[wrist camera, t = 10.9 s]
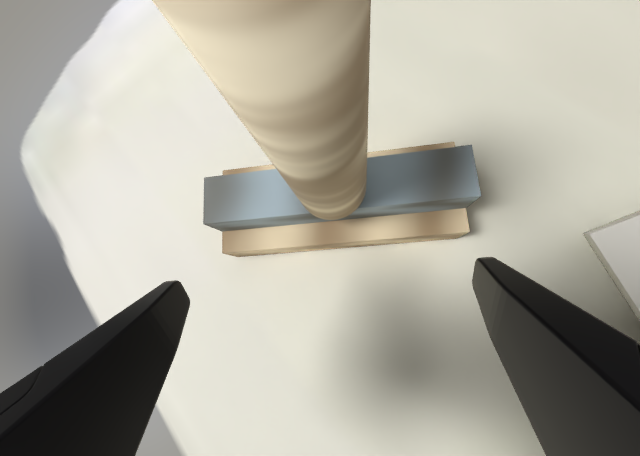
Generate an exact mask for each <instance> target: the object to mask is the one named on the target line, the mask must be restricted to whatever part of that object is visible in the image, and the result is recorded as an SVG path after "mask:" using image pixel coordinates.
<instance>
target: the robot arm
mask: <svg viewBox="0 0 640 456" xmlns="http://www.w3.org/2000/svg"><path fill="white" fill-rule="evenodd" d="M472 284H473V289H474V292H475V295H476V298H477V300H478V303H479V306H480V309H481V312H482V315H483V318H484V321H485V324H486V327H487V330H488V333H489V335H490V338H491V340H492V342H493V345H494V347H495V349H496V351H497V353H498V355H499V357H500V360H501V362H502V364H503V366H504V368H505V370H506V372H507V374H508V376H509V379H510V381H511V383H512V385H513V387H514V389H515V391H516V393H517V395H518V398H519V400H520V402H521V404H522V406H523V408H524V410H525V412H526V414H527V417H528V419H529V421H530V423H531V425H532V427H533V429H534V431H535V433H536V435H537V438H538V440H539V442H540V444H541V446H542V448H543V450H544V452H545V454H546V456H640V344H638V343H637V342H636V341H635V340H633V339H632V338H630V337H628V336H627V335H625V334H623V333H621V332H620V331H618V330H616V329H615V328H613V327H611V326H610V325H608V324H606V323H604V322H603V321H601V320H599V319H598V318H596V317H594V316H593V315H591V314H589V313H587V312H586V311H584V310H582V309H581V308H579V307H577V306H576V305H574V304H572V303H570V302H569V301H567V300H565V299H564V298H562V297H560V296H559V295H557V294H555V293H553V292H552V291H550V290H548V289H547V288H545V287H543V286H542V285H540V284H538V283H536V282H535V281H533V280H531V279H530V278H528V277H526V276H525V275H523V274H521V273H519V272H518V271H516V270H514V269H513V268H511V267H509V266H507V265H506V264H504V263H502V262H501V261H499V260H497V259H496V258H493V257H485V258H478V259H477V260H476V262H475V267H474V273H473V279H472ZM189 306H190V299H189V297H188V295H187V293H186V291H185V289H184V288H183V286H182V284H181V282H179V281H166V282H164V283H162V284H161V285H159V286H158V287H156V288H155V289H154V290H152V291H151V292H149V293H148V294H146V295H145V296H143V297H142V298H140V299H139V300H137V301H136V302H134V303H133V304H132V305H130V306H129V307H127V308H126V309H124V310H123V311H121V312H120V313H118V314H117V315H115V316H114V317H112V318H111V319H110V320H108V321H107V322H105V323H104V324H102V325H101V326H99V327H98V328H96V329H95V330H93V331H92V332H90V333H89V334H88V335H86V336H85V337H83V338H82V339H81V340H79V341H77V342H76V343H74V344H73V345H71V346H70V347H68V348H67V349H66V350H64V351H63V352H61V353H60V354H58V355H57V356H55V357H54V358H52V359H51V360H49V361H48V362H46V363H45V364H44V366H40V367H39V368H37V369H36V370H34V371H33V372H32V373H30V374H29V375H27V376H26V377H24V378H23V379H21V380H20V381H18V382H17V383H16V384H14V385H12V386H11V387H9V388H8V389H6V390H5V391H3V392H2V393H0V456H135V455H136V452H137V450H138V447H139V445H140V442H141V439H142V437H143V434H144V432H145V429H146V427H147V424H148V422H149V419H150V416H151V414H152V412H153V409H154V407H155V404H156V402H157V399H158V397H159V394H160V392H161V389H162V387H163V384H164V382H165V379H166V377H167V374H168V372H169V369H170V367H171V364H172V361H173V359H174V356H175V354H176V351H177V348H178V345H179V342H180V338H181V335H182V331H183V328H184V324H185V320H186V317H187V313H188V310H189Z"/></svg>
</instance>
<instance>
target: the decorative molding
mask: <svg viewBox="0 0 640 456" xmlns="http://www.w3.org/2000/svg"><path fill="white" fill-rule="evenodd" d="M583 234H584V236H585V237H586V239H587V241H588V242H589V244H590V245H591V247H592V248H593V250H594V251H595V253H596V255H597V256H598V258H599V259H600V261H601V262H602V264H603V265H604V267H605V269H606V270H607V272H608V273H609V275H610V276H611V278H612V279H613V281H614V283H615V284H616V286H617V287H618V289H619V290H620V292H621V293H622V295H623V297H624V298H625V300H626V301H627V303H628V304H629V306H630V307H631V309H632V311H633V312H634V314H635V315H636V317H637V318H638V320H639V321H640V211H637V212H635V213H632V214H630V215H627V216H625V217H622V218H620V219H617V220H615V221H612V222H610V223H608V224H606V225H604V226H601V227H598V228H596V229H593V230H590V231H588V232H585V233H583Z"/></svg>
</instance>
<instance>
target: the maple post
mask: <svg viewBox="0 0 640 456" xmlns="http://www.w3.org/2000/svg"><path fill="white" fill-rule="evenodd" d="M152 1H153V2H154V4H155V5H156V6H157V8H158V9H159V10H160V12H161V13H162V14H163V16H164V17H165V19H166V20H167V21H168V23H169V24H170V25H171V27H172V28H173V29H174V31H175V32H176V33H177V35H178V36H179V38H180V39H181V40H182V42H183V43H184V44H185V46H186V47H187V48H188V50H189V51H190V52H191V54H192V55H193V57H194V58H195V59H196V61H197V62H198V63H199V65H200V66H201V67H202V69H203V70H204V71H205V73H206V74H207V76H208V77H209V78H210V80H211V81H212V82H213V84H214V85H215V86H216V88H217V89H218V90H219V92H220V93H221V95H222V96H223V97H224V99H225V100H226V101H227V103H228V104H229V105H230V107H231V108H232V109H233V111H234V112H235V114H236V115H237V116H238V118H239V119H240V120H241V122H242V123H243V124H244V126H245V127H246V128H247V130H248V131H249V133H250V134H251V135H252V137H253V138H254V139H255V141H256V142H257V143H258V145H259V146H260V147H261V149H262V150H263V152H264V153H265V154H266V156H267V157H268V158H269V160H270V161H271V162H272V164H273V165H274V166H275V168H276V169H277V171H278V172H279V173H280V175H281V176H282V177H283V179H284V180H285V181H286V183H287V184H288V185H289V187H290V188H291V190H292V191H293V192H294V194H295V195H296V196H297V198H298V199H299V200H300V202H301V203H302V204H303V206H304V207H305V208H306V210H307V211H309V212H310V213H311V214H312V215H314V216H316V217H318V218H321V219H325V220H336V219H341V218H344V217H346V216H348V215H350V214H352V213H353V212H354V211H355V210H356V209H357V208H358V207H359V206H360V205H361V203H362V201H363V199H364V197H365V193H366V183H367V139H368V95H369V50H370V6H371V0H152Z"/></svg>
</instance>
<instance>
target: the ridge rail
mask: <svg viewBox="0 0 640 456" xmlns="http://www.w3.org/2000/svg"><path fill="white" fill-rule="evenodd" d="M480 196H481V192H480V187H479V181H478V176H477V171H476V165H475V160H474V155H473V149H472V145H466V146H458V147H455V143H454V142H449V143H441V144H433V145H424V146H416V147H408V148H400V149H392V150H384V151H376V152H368V153H367V183H366V193H365V197H364V199H363V201H362V203H361V205H360V206H359V207H358V208H357V209H356V210H355V211H354V212H353V213H352V214H350V215H348V216H346V217H344V218H341V219H336V220H325V219H321V218H318V217H316V216H314V215H312V214H311V213H310V212H309V211H307V210H306V208H305V207H304V206H303V204H302V203H301V202H300V200H299V199H298V198H297V196H296V195H295V194H294V192H293V191H292V190H291V188H290V187H289V185H288V184H287V183H286V181H285V180H284V179H283V177H282V176H281V175H280V173H279V172H278V171H277V169H276V168H275V166H274V165H273V164H272V165H264V166H256V167H248V168H240V169H232V170H224V171H223V175H222V176H214V177H205V178H204V219H203V224H205V225H207V226H210V227H212V228H215V229H217V230H220V231H222V253H224V254H228V255H232V256H236V257H243V256H254V255H266V254H278V253H290V252H302V251H314V250H325V249H337V248H349V247H361V246H373V245H385V244H397V243H408V242H420V241H432V240H444V239H456V238H459V237H461V236H463V235H465V234H466V233H468V232H470V230H469V224H468V218H467V212H466V207H468V206H469V205H470V204H472V203H473V202H474V201H475V200H477V199H478V198H479V197H480Z"/></svg>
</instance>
